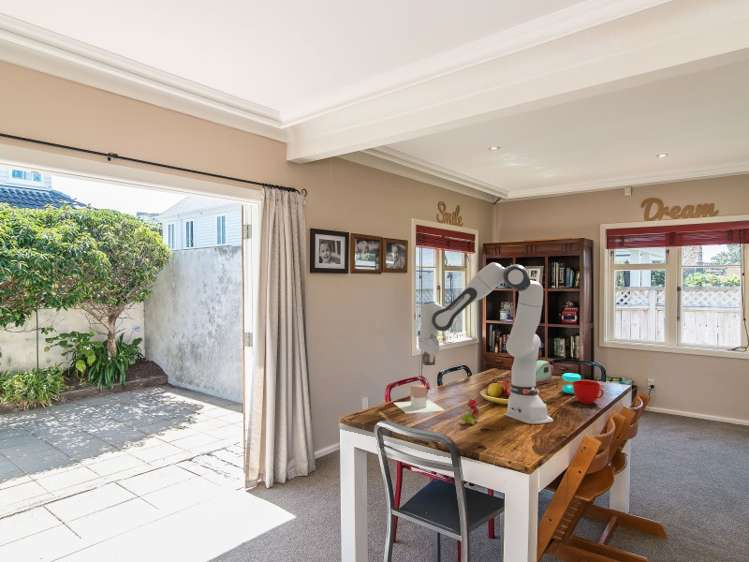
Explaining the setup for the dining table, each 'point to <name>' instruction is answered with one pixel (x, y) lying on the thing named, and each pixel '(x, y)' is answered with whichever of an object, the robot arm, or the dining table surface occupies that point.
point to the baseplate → (409, 409)
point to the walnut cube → (427, 359)
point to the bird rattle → (472, 412)
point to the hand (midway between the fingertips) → (428, 360)
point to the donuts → (570, 378)
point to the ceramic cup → (587, 391)
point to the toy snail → (543, 372)
